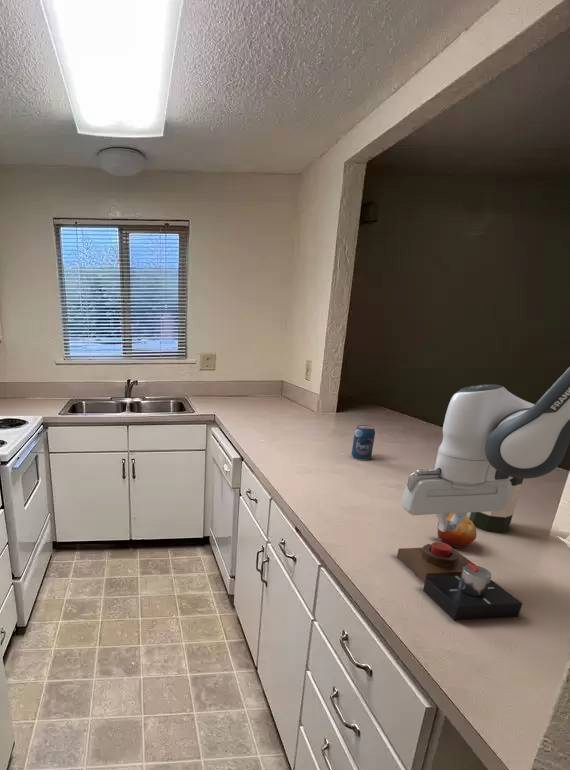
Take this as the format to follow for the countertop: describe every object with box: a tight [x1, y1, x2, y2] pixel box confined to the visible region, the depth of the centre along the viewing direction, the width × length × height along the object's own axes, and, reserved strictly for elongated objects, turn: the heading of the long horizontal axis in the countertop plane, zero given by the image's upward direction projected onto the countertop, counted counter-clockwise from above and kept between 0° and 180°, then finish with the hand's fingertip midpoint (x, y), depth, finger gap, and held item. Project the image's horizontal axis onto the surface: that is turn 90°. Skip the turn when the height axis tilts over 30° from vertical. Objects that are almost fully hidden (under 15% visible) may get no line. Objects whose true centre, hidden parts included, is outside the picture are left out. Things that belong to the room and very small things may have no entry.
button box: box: [396, 543, 476, 584], centre depth 92 cm, size 12×10×4 cm
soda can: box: [351, 424, 376, 461], centre depth 162 cm, size 7×7×12 cm
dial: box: [458, 563, 493, 596], centre depth 80 cm, size 4×4×4 cm
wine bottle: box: [468, 477, 524, 534], centre depth 106 cm, size 8×8×30 cm
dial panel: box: [422, 576, 523, 621], centre depth 81 cm, size 12×9×3 cm
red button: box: [431, 541, 453, 557], centre depth 91 cm, size 4×4×2 cm
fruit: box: [434, 513, 477, 548], centre depth 102 cm, size 8×8×8 cm
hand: (447, 530), depth 90 cm, fingers closed
